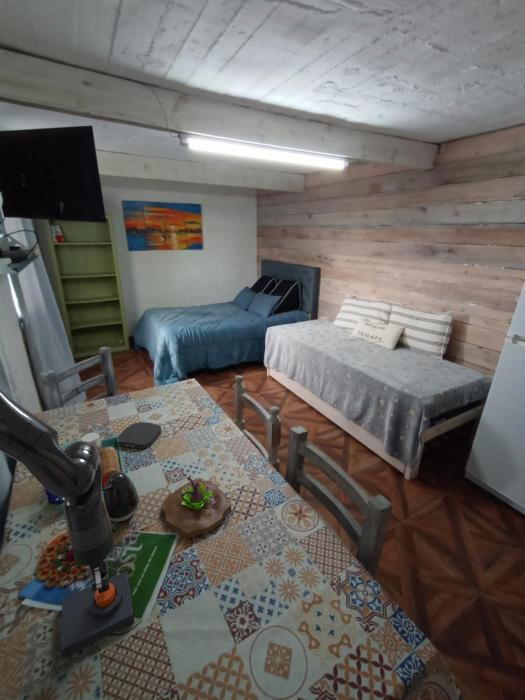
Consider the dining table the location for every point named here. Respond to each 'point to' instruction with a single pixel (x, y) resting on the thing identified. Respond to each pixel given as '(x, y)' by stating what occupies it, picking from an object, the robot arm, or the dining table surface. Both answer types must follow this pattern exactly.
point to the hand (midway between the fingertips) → (104, 588)
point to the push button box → (94, 616)
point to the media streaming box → (139, 435)
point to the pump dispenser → (120, 497)
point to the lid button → (105, 597)
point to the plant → (195, 508)
